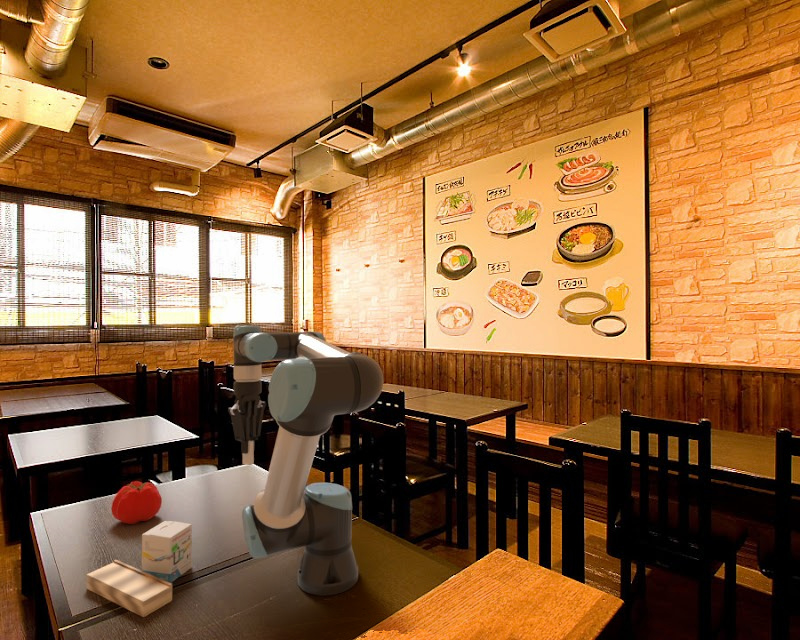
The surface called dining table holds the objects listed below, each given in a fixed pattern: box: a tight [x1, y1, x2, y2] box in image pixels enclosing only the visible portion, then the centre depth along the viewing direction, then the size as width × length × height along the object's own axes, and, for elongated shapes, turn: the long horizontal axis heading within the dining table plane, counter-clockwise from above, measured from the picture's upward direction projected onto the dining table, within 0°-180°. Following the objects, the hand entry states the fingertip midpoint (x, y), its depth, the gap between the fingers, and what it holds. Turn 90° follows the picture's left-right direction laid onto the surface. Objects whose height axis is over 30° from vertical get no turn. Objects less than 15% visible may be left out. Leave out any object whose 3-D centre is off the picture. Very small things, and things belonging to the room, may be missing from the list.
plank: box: [86, 559, 173, 618], centre depth 112 cm, size 22×7×4 cm, turn 62°
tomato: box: [110, 480, 163, 525], centre depth 152 cm, size 13×14×12 cm
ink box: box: [141, 520, 193, 584], centre depth 121 cm, size 8×8×12 cm
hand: (248, 463), depth 133 cm, fingers closed
